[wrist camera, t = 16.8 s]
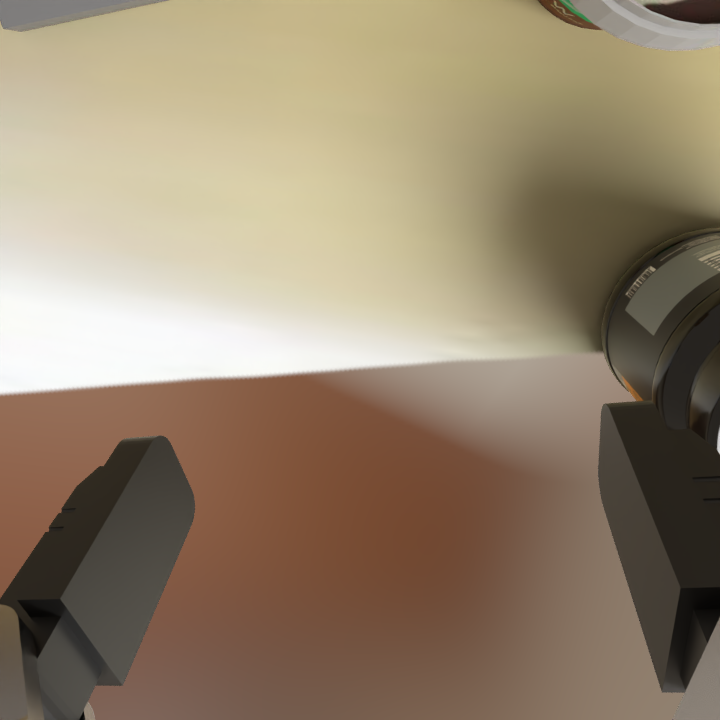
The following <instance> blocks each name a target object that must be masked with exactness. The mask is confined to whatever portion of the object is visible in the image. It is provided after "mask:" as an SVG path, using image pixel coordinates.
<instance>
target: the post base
mask: <svg viewBox="0 0 720 720" xmlns="http://www.w3.org/2000/svg"><path fill="white" fill-rule="evenodd" d="M162 1H167V0H0V21H1V24H2V27H3V29H7V30H14V31H20V32H22V31H27V30H31V29H36V28H41V27H45V26H50V25H55V24H59V23H64V22H69V21H74V20H78V19H83V18H88V17H92V16H97V15H102V14H106V13H111V12H116V11H120V10H125V9H130V8H134V7H139V6H144V5H148V4H153V3H158V2H162Z"/></svg>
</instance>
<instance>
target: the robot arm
mask: <svg viewBox="0 0 720 720" xmlns="http://www.w3.org/2000/svg"><path fill="white" fill-rule="evenodd" d="M600 427H601V428H600V446H599V465H598V477H599V487H600V494H601V499H602V503H603V507H604V510H605V513H606V517H607V520H608V523H609V526H610V529H611V532H612V536H613V539H614V542H615V545H616V548H617V551H618V555H619V558H620V561H621V564H622V567H623V570H624V573H625V577H626V580H627V583H628V586H629V589H630V593H631V596H632V599H633V602H634V605H635V608H636V612H637V615H638V618H639V621H640V624H641V627H642V630H643V634H644V637H645V640H646V643H647V646H648V649H649V653H650V656H651V659H652V662H653V665H654V669H655V672H656V675H657V678H658V681H659V684H660V687H661V690H662V692H684V695H683V698H682V700H681V702H680V704H679V706H678V708H677V711H676V713H675V715H674V717H673V719H672V720H720V454H719V452H718V450H717V449H716V448H714V447H713V446H712V445H710V444H709V443H708V442H707V441H705V440H704V439H703V438H701V437H700V436H699V435H698V434H696V433H695V432H694V431H693V430H691V429H680V430H668V429H667V427H666V425H665V423H664V421H663V419H662V417H661V415H660V413H659V412H658V410H657V408H656V406H655V404H654V403H653V402H652V401H650V400H649V401H635V402H622V403H609V404H604V405H603V407H602V411H601V426H600ZM194 512H195V501H194V495H193V492H192V489H191V487H190V485H189V483H188V480H187V478H186V476H185V474H184V472H183V469H182V467H181V465H180V463H179V461H178V459H177V456H176V454H175V452H174V450H173V447H172V445H171V443H170V442H169V440H168V439H167V438H166V437H164V436H150V437H137V438H126V439H123V440H122V441H121V442H120V443H119V444H118V445H117V447H116V448H115V450H114V452H113V453H112V454H111V456H110V457H109V459H108V461H107V462H106V464H105V465H104V466H100V467H98V468H97V469H96V470H95V471H94V472H93V473H92V474H90V475H89V476H88V477H87V478H86V479H85V480H84V481H82V482H81V483H80V484H79V485H78V486H77V487H76V488H75V490H74V491H73V493H72V494H71V495H70V497H69V499H68V500H67V502H66V503H65V504H64V506H63V507H62V512H61V513H59V514H58V515H57V516H56V518H55V519H54V520H53V522H52V523H51V525H50V526H49V532H45V534H44V535H43V537H42V538H41V540H40V541H39V543H38V544H37V545H36V547H35V548H34V550H33V551H32V553H31V554H30V556H29V557H28V559H27V560H26V562H25V563H24V565H23V566H22V568H21V569H20V570H19V572H18V573H17V575H16V576H15V578H14V579H13V581H12V582H11V584H10V585H9V587H8V588H7V590H6V591H5V593H4V594H3V595H2V597H1V599H0V720H95V717H94V713H93V709H92V707H91V706H90V704H89V703H88V700H89V698H90V696H91V693H92V691H93V689H94V687H95V685H103V686H104V685H109V686H112V685H113V686H122V685H123V683H124V681H125V679H126V677H127V674H128V672H129V670H130V667H131V665H132V663H133V660H134V658H135V656H136V653H137V651H138V649H139V646H140V644H141V642H142V639H143V637H144V635H145V632H146V630H147V628H148V625H149V623H150V621H151V618H152V616H153V613H154V611H155V609H156V607H157V604H158V602H159V600H160V597H161V595H162V593H163V590H164V588H165V586H166V583H167V581H168V578H169V576H170V574H171V571H172V569H173V567H174V564H175V562H176V560H177V557H178V555H179V553H180V550H181V548H182V546H183V544H184V541H185V539H186V537H187V534H188V532H189V529H190V527H191V525H192V522H193V518H194Z"/></svg>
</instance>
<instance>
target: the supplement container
mask: <svg viewBox="0 0 720 720" xmlns="http://www.w3.org/2000/svg"><path fill="white" fill-rule="evenodd" d="M601 333H602V346H603V352H604V355H605V358H606V361H607V363H608V366H609V368H610V370H611V371H612V373H613V375H614V376H615V377H616V379H617V380H618V381H619V382H620V384H621V385H622V386H623V387H624V388H625V389H626V390H627V391H628V392H630V393H631V395H632V396H633V397H634V398H635V399H636V401H649V400H650V401H652V402H653V403H654V404H655V406H656V408H657V410H658V412H659V413H660V415H661V417H662V419H663V421H664V423H665V425H666V427H667V429H668V430H680V429H691V430H693V431H694V432H695V433H696V434H698V435H699V436H700V437H701V438H703V439H704V440H705V441H707V442H708V443H709V444H710V445H712V446H713V447H714V448H716V449H717V450H718V452H719V454H720V228H706V229H700V230H695V231H691V232H687V233H684V234H681V235H678V236H676V237H673V238H671V239H669V240H667V241H665V242H663V243H661V244H659V245H658V246H656V247H654V248H653V249H651V250H650V251H648V252H647V253H646V254H644V255H643V256H642V257H641V258H639V259H638V260H637V261H636V262H635V263H634V264H633V265H632V266H631V267H630V268H629V269H628V270H627V271H626V273H625V274H624V275H623V276H622V278H621V279H620V280H619V282H618V283H617V285H616V286H615V288H614V290H613V292H612V294H611V296H610V298H609V300H608V303H607V305H606V309H605V312H604V316H603V321H602V331H601Z"/></svg>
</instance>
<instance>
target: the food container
mask: <svg viewBox="0 0 720 720" xmlns="http://www.w3.org/2000/svg"><path fill="white" fill-rule="evenodd" d="M539 2H540V3H541V4H542V5H543V6H544V7H545V8H546V9H547V10H548V11H550V12H551V13H552V14H553V15H554V16H556V17H558V18H560V19H561V20H563V21H565V22H567V23H569V24H572V25H575V26H578V27H581V28H587V29H595V30H605V31H606V32H608V33H610V34H611V35H613V36H615V37H617V38H619V39H622V40H625V41H627V42H630V43H633V44H636V45H639V46H641V47H647V48H654V49H660V50H667V51H678V50H699V49H704V48H709V47H714V46H719V45H720V0H539Z"/></svg>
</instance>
